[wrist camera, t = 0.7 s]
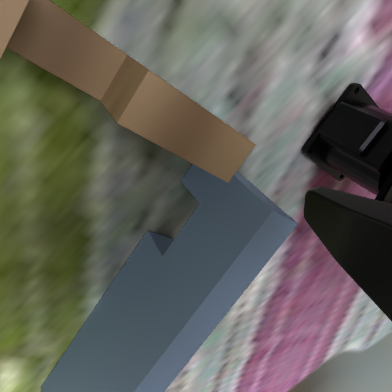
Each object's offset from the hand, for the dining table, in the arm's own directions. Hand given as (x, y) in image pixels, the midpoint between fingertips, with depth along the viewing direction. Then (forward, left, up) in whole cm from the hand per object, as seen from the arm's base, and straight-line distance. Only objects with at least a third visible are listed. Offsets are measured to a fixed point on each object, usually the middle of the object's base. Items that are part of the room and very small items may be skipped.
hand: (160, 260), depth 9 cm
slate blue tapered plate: (-10, +11, -13) cm, 20 cm away
